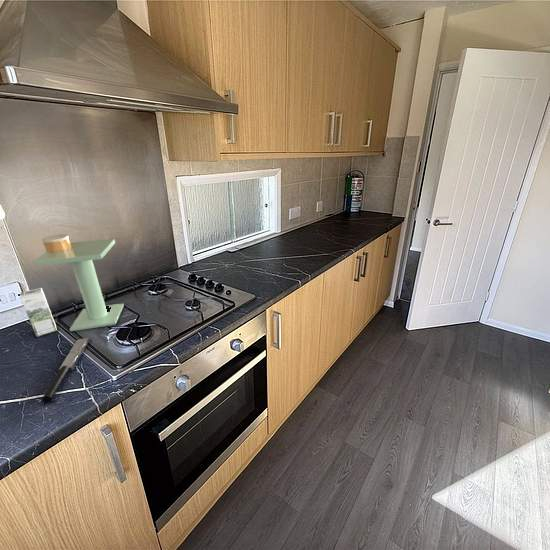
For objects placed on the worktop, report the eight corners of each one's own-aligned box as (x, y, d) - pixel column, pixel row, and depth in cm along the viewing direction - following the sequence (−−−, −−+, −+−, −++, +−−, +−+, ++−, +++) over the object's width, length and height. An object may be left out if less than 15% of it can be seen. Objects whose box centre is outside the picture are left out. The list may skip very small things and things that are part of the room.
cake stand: (120, 326, 99) (97, 241, 88) (59, 336, 95) (25, 248, 83) (130, 302, 115) (111, 227, 104) (78, 309, 111) (52, 232, 99)
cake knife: (55, 401, 70) (52, 394, 69) (41, 404, 69) (38, 397, 69) (89, 340, 92) (87, 335, 92) (78, 342, 92) (76, 337, 91)
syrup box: (55, 324, 102) (41, 286, 96) (57, 331, 98) (42, 292, 92) (35, 330, 99) (19, 291, 93) (36, 337, 95) (19, 298, 89)
